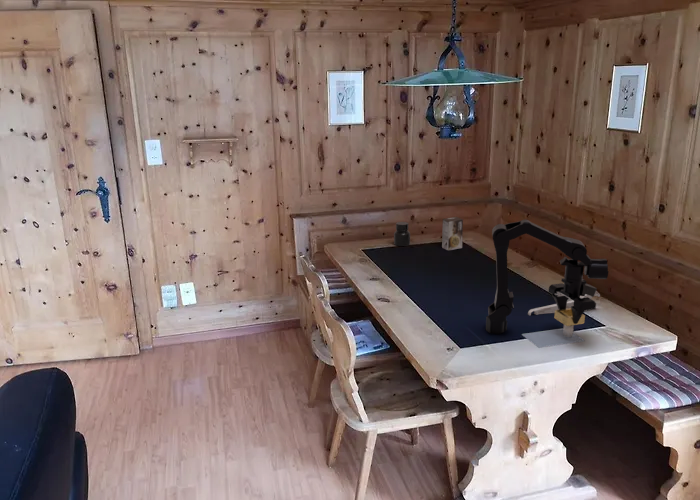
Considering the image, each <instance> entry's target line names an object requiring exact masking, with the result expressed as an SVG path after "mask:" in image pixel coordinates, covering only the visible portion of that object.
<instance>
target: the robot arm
mask: <svg viewBox="0 0 700 500" xmlns="http://www.w3.org/2000/svg"><path fill="white" fill-rule="evenodd" d="M491 235H492V236H491V237H492V241H493V245H494V250H495V261H496V262H495V263H496V264H495V267H496V291H495V297H494V301H493V302H492V303H491V304H490V305H489V306H488V307H487V311H488V315H487V316H486V320H485V330H486V332H488V333H489V334H493V335H500V334H503V333H505V332H507V330H508V320H507V316H509V315H511V313H512V311H513V309H515V307H514V294H513V291H509V283H508V281H509V278H508V276H509V275H508V251H509V246H510V241H512V240H514V239H516V238H519V237H521V236H523V235H529V236H530V237H533V238H535V239H537V240H539V241H541V242H544V243H545V244H548V245H550V246H552V247H554V248H557V249H558V250H560V252H562V253H563V255H565V256H564V257H563V258H562V259H560V260H559V262H560V263H559V264H560V265H561V266H565V268H564V278H561V282H560V283H553V284H550V285H549V287H548V293H549V294H551V297H552V298H553V300H554V301H555V304H557V306H558V309H559V310H560V309H566V305H567V301H569V300H570V301H571V300H573V301H574V304H573V305H574V306H571V310H572V316H573V321H574V324H577V323H578V321H579V320H580V318H581V316H582V314H583V315H584V313H585V312H586V311H585V310H587V311H592V310H596V307H597V302H596V301H595V300H593V299H592V298H593V297H595V296H594V295H595V292H596V291H597V289H598V288H597V287H595V286H593V285H591V284H590V283H589V284H588V283H587V280H585V279H583V276H587V278H588V279H594V280H596V279H597V280H607V279H608V277H609V265H608V260H607V258H591V257H590V256H589V255H588V254H587V252H588V251H587V250H588V249H587V247H586V246H585V245H584V242H582V241H581V240H579V239H576V238H572V237H567V236H562V235H559V234H557V233H556V232H554V231H550V230H548V229H546V228H545V227H542V226H540V225H539V224H536V223H534V222H532V221H530V220H528V219H522V220H519V221H514V222H509V223H505V224H503V223H498V224H496V225H495V226H494V227H493V228H492V231H491ZM567 257H568V258H567ZM585 294H586V295H590V296H592V298H591V299H590V298H588V297H587V298H580V296H585Z"/></svg>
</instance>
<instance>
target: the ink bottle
mask: <svg viewBox="0 0 700 500" xmlns="http://www.w3.org/2000/svg"><path fill="white" fill-rule="evenodd" d="M393 244H394V245H395V246H397V247H408V246H410V244H411V232H410V231H409V222H406V221H398V222H396V223H395V231H394V233H393Z"/></svg>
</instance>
